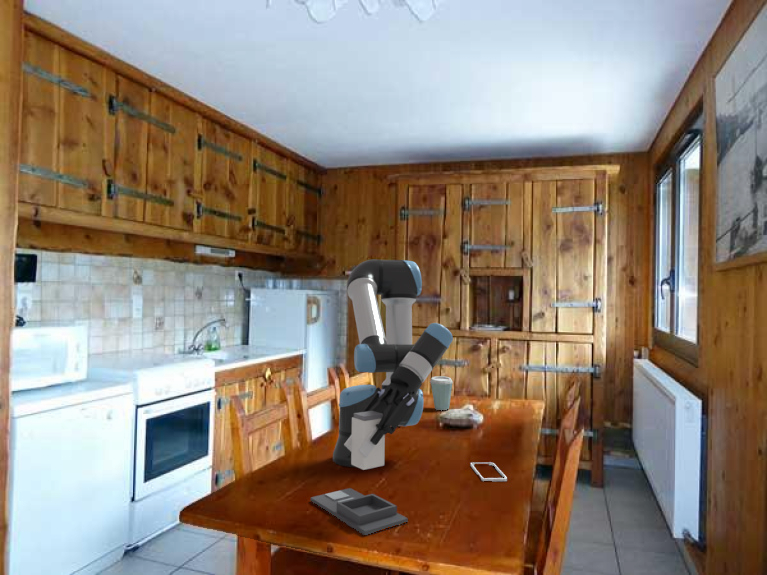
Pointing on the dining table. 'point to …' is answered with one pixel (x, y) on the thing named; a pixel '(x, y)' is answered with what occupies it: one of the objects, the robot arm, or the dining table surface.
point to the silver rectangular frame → (489, 478)
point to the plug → (360, 431)
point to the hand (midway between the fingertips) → (355, 450)
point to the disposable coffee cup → (441, 392)
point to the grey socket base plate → (360, 510)
